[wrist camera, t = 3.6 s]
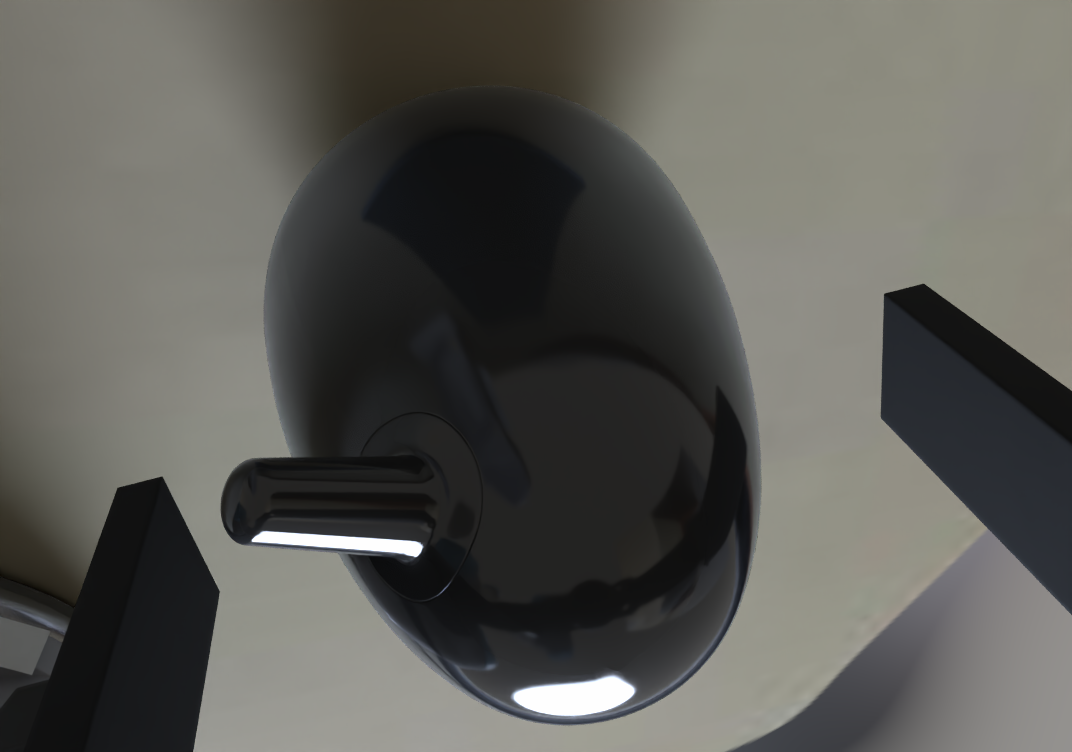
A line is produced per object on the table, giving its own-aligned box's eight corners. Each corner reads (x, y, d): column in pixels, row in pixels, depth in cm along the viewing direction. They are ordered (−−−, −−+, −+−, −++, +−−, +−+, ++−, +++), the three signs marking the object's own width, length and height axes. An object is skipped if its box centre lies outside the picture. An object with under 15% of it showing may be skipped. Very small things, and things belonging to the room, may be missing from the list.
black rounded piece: (365, -32, 21) (418, 141, 8) (713, 164, 25) (1123, 489, 12) (208, 329, 24) (69, 853, 12) (535, 449, 29) (704, 937, 16)
